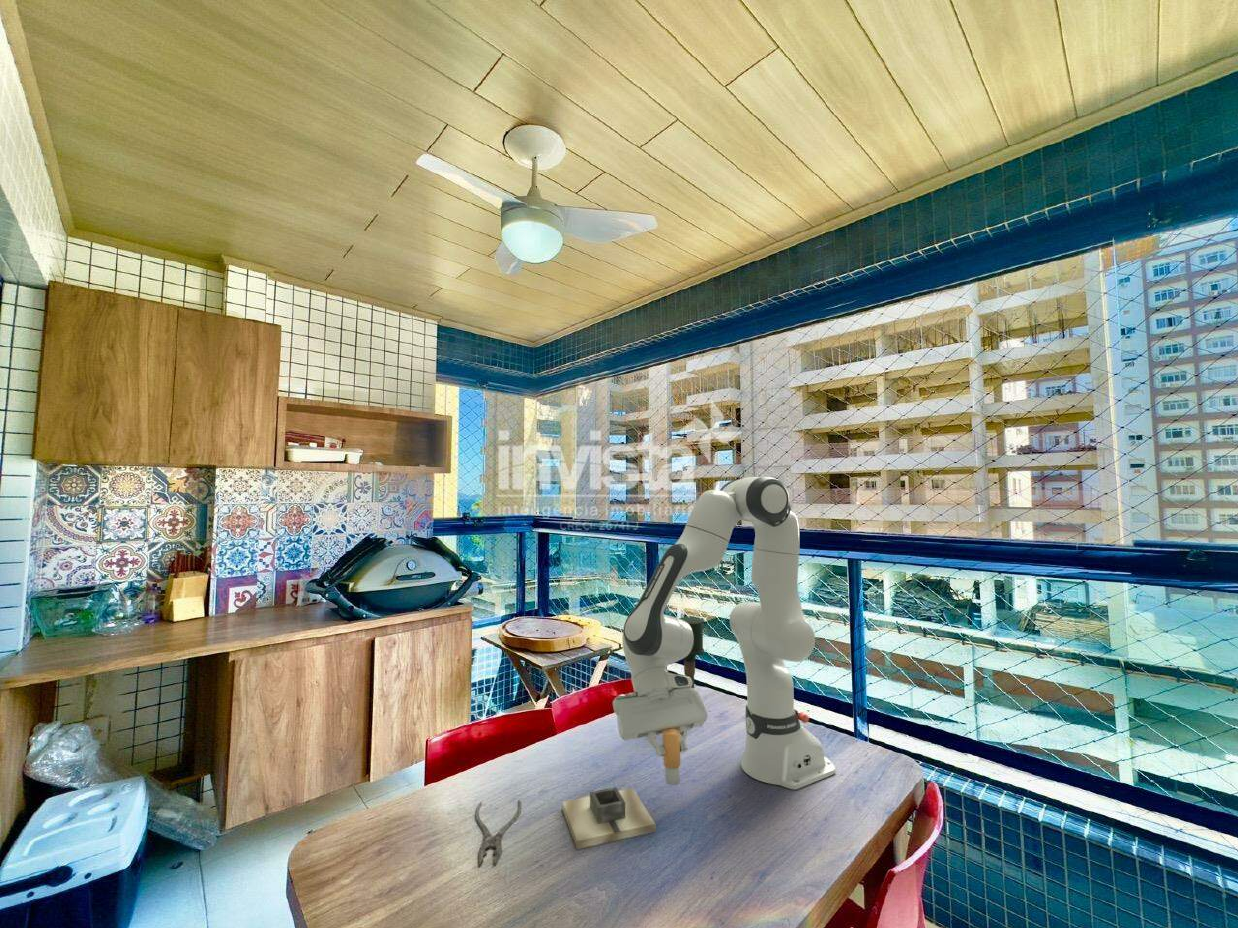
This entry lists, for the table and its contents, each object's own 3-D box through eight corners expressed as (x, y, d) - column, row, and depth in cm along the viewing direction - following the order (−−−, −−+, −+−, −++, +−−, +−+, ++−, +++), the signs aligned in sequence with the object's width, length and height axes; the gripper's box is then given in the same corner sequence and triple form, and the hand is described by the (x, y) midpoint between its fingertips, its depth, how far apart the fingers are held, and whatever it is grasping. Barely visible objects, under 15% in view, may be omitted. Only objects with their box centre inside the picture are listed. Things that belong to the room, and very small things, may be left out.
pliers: (520, 794, 112) (533, 855, 93) (519, 798, 112) (532, 859, 93) (474, 802, 109) (478, 866, 90) (474, 806, 109) (478, 871, 90)
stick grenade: (673, 717, 152) (673, 616, 154) (702, 718, 152) (702, 616, 154) (676, 730, 144) (675, 623, 146) (706, 731, 144) (706, 623, 145)
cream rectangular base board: (632, 794, 113) (632, 773, 113) (655, 831, 101) (655, 807, 101) (562, 808, 108) (562, 786, 108) (577, 849, 96) (577, 824, 96)
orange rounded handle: (676, 774, 109) (675, 727, 110) (683, 783, 106) (682, 734, 107) (661, 777, 108) (659, 729, 109) (668, 787, 105) (666, 737, 105)
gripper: (613, 689, 111) (629, 757, 102) (697, 676, 118) (719, 738, 108) (607, 702, 115) (623, 768, 106) (689, 688, 122) (710, 750, 112)
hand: (672, 753), depth 107 cm, fingers closed on orange rounded handle, 4 cm apart
